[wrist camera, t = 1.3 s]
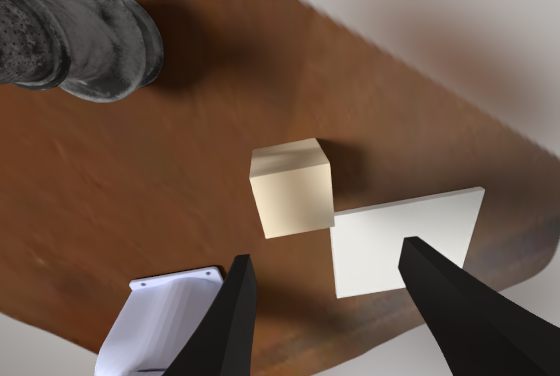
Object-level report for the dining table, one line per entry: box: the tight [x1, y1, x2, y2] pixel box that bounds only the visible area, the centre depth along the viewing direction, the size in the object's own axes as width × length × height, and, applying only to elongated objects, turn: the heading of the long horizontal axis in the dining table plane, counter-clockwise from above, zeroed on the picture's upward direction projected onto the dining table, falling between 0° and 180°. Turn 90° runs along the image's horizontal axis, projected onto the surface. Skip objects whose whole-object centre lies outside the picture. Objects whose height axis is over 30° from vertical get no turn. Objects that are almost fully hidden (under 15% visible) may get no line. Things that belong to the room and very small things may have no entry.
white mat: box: [330, 186, 485, 298], centre depth 25 cm, size 14×12×1 cm
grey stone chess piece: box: [0, 0, 164, 102], centre depth 10 cm, size 6×6×12 cm
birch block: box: [250, 138, 335, 239], centre depth 18 cm, size 5×5×5 cm
